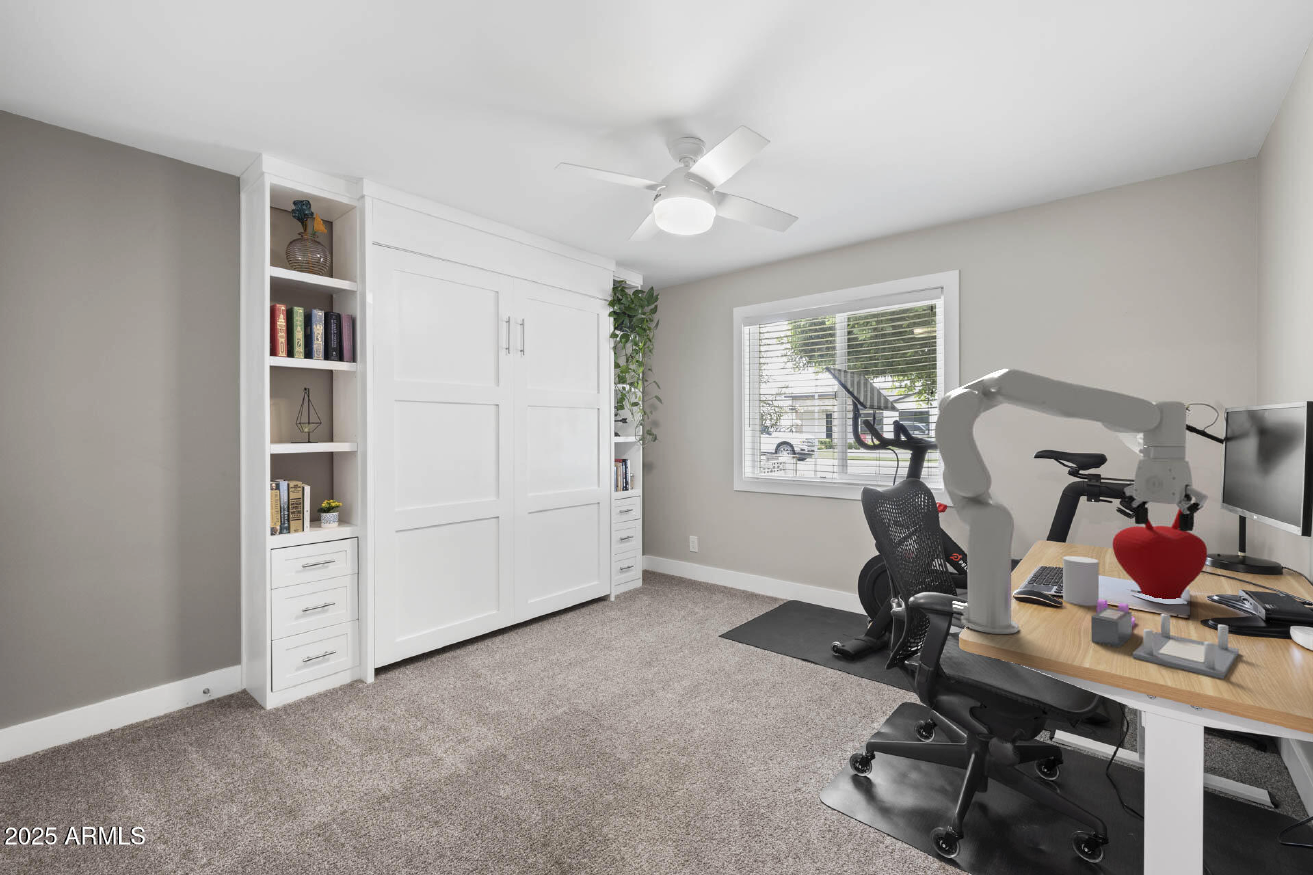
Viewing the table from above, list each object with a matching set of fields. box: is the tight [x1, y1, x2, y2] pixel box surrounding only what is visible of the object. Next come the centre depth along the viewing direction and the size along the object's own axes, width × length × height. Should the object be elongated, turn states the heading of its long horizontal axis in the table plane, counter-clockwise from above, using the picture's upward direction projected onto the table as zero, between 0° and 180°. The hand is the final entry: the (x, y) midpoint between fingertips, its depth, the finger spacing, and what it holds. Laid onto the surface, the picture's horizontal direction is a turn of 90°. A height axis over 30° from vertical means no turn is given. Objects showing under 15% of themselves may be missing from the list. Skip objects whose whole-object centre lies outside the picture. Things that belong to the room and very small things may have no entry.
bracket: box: [1096, 598, 1136, 627], centre depth 145 cm, size 13×6×7 cm, turn 131°
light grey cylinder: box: [1062, 555, 1100, 607], centre depth 165 cm, size 8×8×12 cm
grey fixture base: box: [1132, 613, 1240, 680], centre depth 125 cm, size 14×20×6 cm
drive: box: [1090, 607, 1133, 649], centre depth 136 cm, size 5×11×6 cm, turn 128°
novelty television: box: [1112, 508, 1208, 599], centre depth 165 cm, size 21×13×30 cm, turn 94°
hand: (1162, 527), depth 136 cm, fingers open, 9 cm apart
